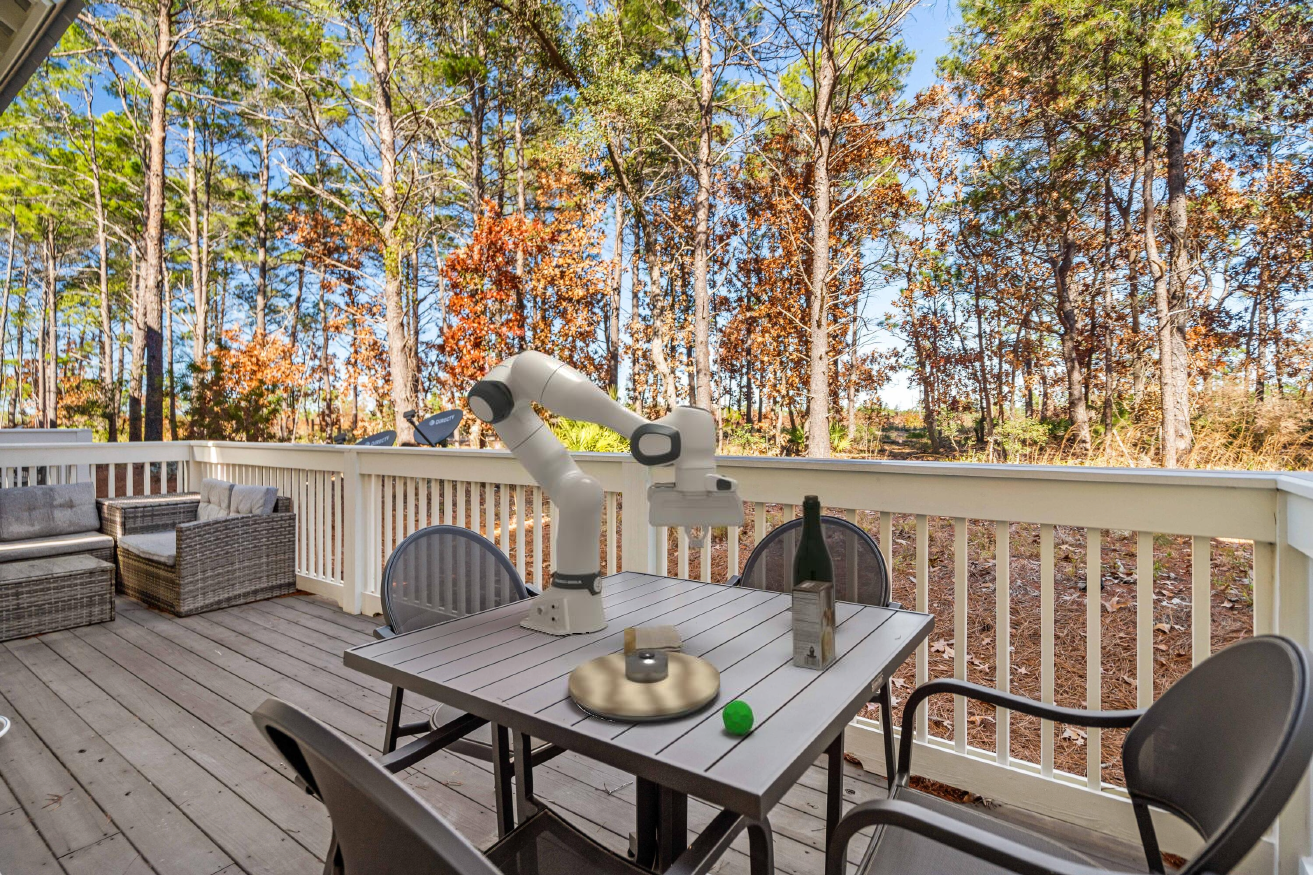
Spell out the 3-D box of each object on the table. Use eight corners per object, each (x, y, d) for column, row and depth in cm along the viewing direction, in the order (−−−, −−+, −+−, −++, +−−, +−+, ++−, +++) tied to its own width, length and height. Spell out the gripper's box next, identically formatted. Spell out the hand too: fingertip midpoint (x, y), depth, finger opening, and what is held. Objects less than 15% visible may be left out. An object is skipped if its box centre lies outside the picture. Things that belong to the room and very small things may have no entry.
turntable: (578, 725, 99) (578, 684, 100) (560, 665, 127) (560, 633, 127) (743, 704, 106) (743, 666, 106) (693, 652, 134) (692, 621, 134)
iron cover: (629, 685, 112) (629, 662, 112) (622, 669, 120) (621, 648, 120) (673, 680, 114) (672, 658, 114) (662, 665, 121) (662, 644, 121)
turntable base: (545, 707, 111) (544, 684, 111) (619, 660, 134) (619, 641, 134) (679, 735, 99) (679, 710, 99) (735, 678, 123) (735, 658, 123)
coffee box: (806, 653, 137) (805, 579, 137) (836, 658, 133) (834, 582, 134) (792, 666, 129) (791, 587, 129) (823, 671, 126) (821, 591, 126)
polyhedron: (720, 726, 102) (719, 696, 102) (750, 724, 103) (749, 695, 103) (725, 740, 97) (724, 709, 97) (756, 739, 98) (756, 708, 98)
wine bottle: (844, 634, 149) (841, 496, 150) (803, 638, 147) (800, 497, 147) (823, 622, 159) (820, 492, 160) (785, 626, 157) (782, 494, 158)
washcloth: (631, 662, 134) (631, 648, 134) (624, 637, 152) (624, 624, 152) (686, 658, 136) (686, 644, 136) (673, 634, 154) (672, 621, 154)
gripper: (645, 483, 131) (646, 550, 130) (744, 482, 128) (745, 550, 128) (648, 481, 137) (650, 545, 137) (743, 480, 135) (744, 545, 134)
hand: (697, 547), depth 132 cm, fingers closed
